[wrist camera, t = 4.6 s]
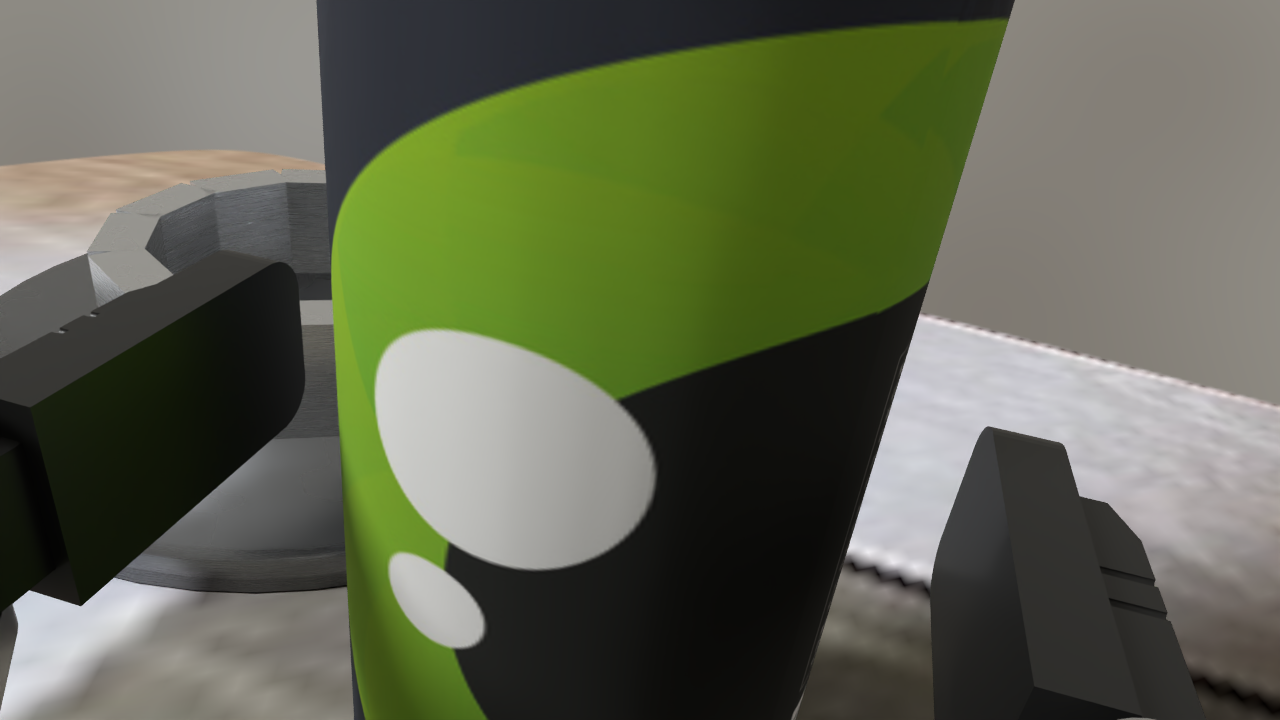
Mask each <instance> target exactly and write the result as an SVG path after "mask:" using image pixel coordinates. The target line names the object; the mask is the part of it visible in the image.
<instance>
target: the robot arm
mask: <svg viewBox="0 0 1280 720" xmlns="http://www.w3.org/2000/svg"><path fill="white" fill-rule="evenodd" d="M304 389H305V365H304V352H303V339H302V326H301V312H300V299H299V287H298V281H297V277H296V275H295V272H294V271H293V269H292V268H291V267H290V266H289V265H288V264H286V263H284V262H280V261H275V260H271V259H267V258H262V257H258V256H254V255H249V254H245V253H240V252H236V251H232V250H221V251H218V252H216V253H214V254H212V255H210V256H208V257H206V258H204V259H202V260H201V261H199V262H197V263H195V264H193V265H191V266H189V267H187V268H185V269H184V270H182V271H180V272H178V273H176V274H174V275H172V276H170V277H168V278H167V279H165V280H163V281H161V282H159V283H157V284H155V285H151V286H147V287H144V288H140V289H137V290H133V291H129V292H127V293H125V294H123V295H121V296H119V297H117V298H115V299H113V300H112V301H110V302H108V303H106V304H104V305H102V306H100V307H98V308H96V309H94V310H92V311H91V314H90V316H89V317H88V316H84V315H83V316H81V317H79V318H77V319H75V320H73V321H71V322H69V323H67V324H65V325H64V326H62V327H60V330H59V332H58V333H55V332H50V333H48V334H46V335H44V336H42V337H41V338H39V339H37V340H35V341H33V342H31V343H29V344H27V345H25V346H23V347H21V348H19V349H18V350H16V351H14V352H12V353H10V354H8V355H6V356H4V357H2V358H0V709H1V705H2V700H3V696H4V691H5V687H6V682H7V677H8V673H9V668H10V664H11V659H12V655H13V650H14V646H15V641H16V636H17V631H18V622H17V617H16V614H15V611H14V607H13V603H14V602H15V601H16V600H18V599H19V598H20V597H21V596H23V595H24V594H25V593H26V592H28V591H29V590H31V591H34V592H37V593H40V594H43V595H47V596H50V597H53V598H56V599H59V600H63V601H66V602H69V603H72V604H75V605H79V606H82V605H83V604H84V603H85V602H86V601H88V600H89V599H90V598H91V597H92V596H93V595H94V594H96V593H97V592H98V591H99V590H100V589H101V588H103V587H104V586H105V585H106V584H107V583H108V582H109V581H111V580H112V579H113V578H114V577H115V576H116V575H117V574H119V573H120V572H121V571H122V570H123V569H124V568H125V567H127V566H128V565H129V564H130V563H131V562H132V561H133V560H135V559H136V558H137V557H138V556H139V555H140V554H141V553H143V552H144V551H145V550H146V549H147V548H148V547H149V546H151V545H152V544H153V543H154V542H155V541H156V540H157V539H159V538H160V537H161V536H162V535H163V534H164V533H165V532H167V531H168V530H169V529H170V528H171V527H172V526H173V525H175V524H176V523H177V522H178V521H179V520H180V519H182V518H183V517H184V516H185V515H186V514H187V513H188V512H190V511H191V510H192V509H193V508H194V507H195V506H196V505H198V504H199V503H200V502H201V501H202V500H203V499H204V498H206V497H207V496H208V495H209V494H210V493H211V492H212V491H214V490H215V489H216V488H217V487H218V486H219V485H220V484H222V483H223V482H224V481H225V480H226V479H227V478H228V477H230V476H231V475H232V474H233V473H234V472H235V471H236V470H238V469H239V468H240V467H241V466H242V465H243V464H244V463H246V462H247V461H248V460H249V459H250V458H251V457H252V456H254V455H255V454H256V453H257V452H258V451H259V450H261V449H262V448H263V447H264V446H265V445H266V444H267V443H269V442H270V441H271V440H272V439H273V438H274V437H275V436H277V435H278V434H279V433H280V432H281V431H282V430H283V429H285V428H286V427H287V426H288V425H289V423H290V422H291V421H292V419H293V418H294V416H295V415H296V413H297V411H298V409H299V406H300V404H301V401H302V398H303V394H304ZM1154 582H1155V577H1154V575H1153V572H1152V569H1151V566H1150V564H1149V561H1148V558H1147V555H1146V553H1145V550H1144V547H1143V544H1142V542H1141V540H1140V539H1139V538H1138V537H1137V536H1136V535H1135V533H1134V532H1133V531H1132V530H1131V529H1130V528H1129V527H1128V526H1127V524H1126V523H1125V522H1124V521H1123V520H1122V519H1121V518H1120V517H1119V515H1118V514H1117V513H1116V512H1115V511H1114V510H1113V509H1112V508H1111V507H1110V505H1109V504H1108V503H1105V502H1101V501H1096V500H1092V499H1088V498H1084V497H1080V496H1079V494H1078V490H1077V487H1076V483H1075V480H1074V476H1073V473H1072V469H1071V466H1070V462H1069V459H1068V455H1067V452H1066V449H1065V447H1064V445H1063V444H1061V443H1059V442H1054V441H1050V440H1046V439H1041V438H1037V437H1033V436H1028V435H1024V434H1020V433H1015V432H1011V431H1007V430H1002V429H998V428H994V427H989V426H988V427H986V428H985V429H984V430H983V431H982V433H981V434H980V436H979V438H978V440H977V442H976V445H975V448H974V450H973V453H972V456H971V458H970V461H969V464H968V467H967V469H966V472H965V475H964V477H963V480H962V483H961V486H960V488H959V491H958V494H957V496H956V499H955V502H954V505H953V507H952V510H951V513H950V516H949V518H948V521H947V524H946V526H945V529H944V532H943V535H942V537H941V540H940V543H939V547H938V550H937V554H936V558H935V563H934V568H933V573H932V580H931V591H930V607H931V634H932V661H933V688H934V715H935V720H1206V718H1205V715H1204V712H1203V709H1202V707H1201V704H1200V701H1199V698H1198V696H1197V693H1196V690H1195V687H1194V685H1193V682H1192V679H1191V676H1190V674H1189V671H1188V668H1187V665H1186V663H1185V660H1184V657H1183V654H1182V652H1181V649H1180V646H1179V643H1178V641H1177V638H1176V635H1175V632H1174V630H1173V627H1172V624H1171V621H1167V620H1166V615H1167V610H1166V608H1165V605H1164V602H1163V599H1162V597H1161V594H1160V591H1159V588H1157V587H1154Z"/></svg>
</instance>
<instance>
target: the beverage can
mask: <svg viewBox="0 0 1280 720" xmlns="http://www.w3.org/2000/svg"><path fill="white" fill-rule="evenodd" d="M1014 1H1015V0H317V18H318V37H319V56H320V76H321V94H322V112H323V113H322V114H323V131H324V152H325V171H326V190H327V209H328V228H329V247H330V266H331V285H332V304H333V323H334V342H335V361H336V380H337V400H338V419H339V438H340V457H341V476H342V495H343V514H344V533H345V552H346V571H347V590H348V609H349V628H350V647H351V666H352V685H353V704H354V720H796V717H797V714H798V711H799V708H800V704H801V701H802V698H803V694H804V691H805V688H806V685H807V681H808V678H809V675H810V671H811V668H812V665H813V662H814V658H815V655H816V652H817V648H818V645H819V642H820V639H821V635H822V632H823V629H824V625H825V622H826V619H827V616H828V612H829V609H830V606H831V602H832V599H833V596H834V593H835V589H836V586H837V583H838V579H839V576H840V573H841V570H842V566H843V563H844V560H845V556H846V553H847V550H848V547H849V543H850V540H851V537H852V533H853V530H854V527H855V524H856V520H857V517H858V514H859V510H860V507H861V504H862V501H863V497H864V494H865V491H866V487H867V484H868V481H869V478H870V474H871V471H872V468H873V464H874V461H875V458H876V455H877V451H878V448H879V445H880V441H881V438H882V435H883V432H884V428H885V425H886V422H887V418H888V415H889V412H890V409H891V405H892V402H893V399H894V395H895V392H896V389H897V386H898V382H899V379H900V376H901V372H902V369H903V366H904V363H905V359H906V356H907V353H908V349H909V346H910V343H911V340H912V336H913V333H914V330H915V326H916V323H917V320H918V317H919V313H920V310H921V307H922V303H923V300H924V297H925V293H926V290H927V287H928V284H929V280H930V277H931V274H932V270H933V267H934V264H935V261H936V257H937V254H938V251H939V248H940V244H941V241H942V238H943V234H944V231H945V228H946V225H947V221H948V218H949V215H950V211H951V208H952V205H953V201H954V198H955V195H956V192H957V188H958V185H959V182H960V179H961V175H962V172H963V169H964V165H965V162H966V159H967V156H968V152H969V149H970V145H971V142H972V139H973V136H974V133H975V129H976V126H977V123H978V119H979V116H980V113H981V110H982V106H983V103H984V99H985V96H986V93H987V90H988V86H989V83H990V80H991V76H992V73H993V70H994V67H995V64H996V60H997V57H998V53H999V50H1000V47H1001V44H1002V41H1003V37H1004V34H1005V31H1006V27H1007V24H1008V21H1009V18H1010V14H1011V11H1012V8H1013V4H1014Z"/></svg>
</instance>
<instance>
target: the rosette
mask: <svg viewBox="0 0 1280 720" xmlns="http://www.w3.org/2000/svg"><path fill="white" fill-rule="evenodd" d="M116 211H117V213H111V214H110V215H109V217H108V218H107V220H106V222H105V223H104V225H103V226H102V228H101V230H100V231H99V233H98V235H97V236H96V238H95V239H94V241H93V243H92V244H91V246H90V247H89V249H88V251H87V254H84V255H82V256H79V257H77V258H74V259H72V260H69V261H67V262H64V263H62V264H59V265H57V266H54V267H52V268H50V269H48V270H46V271H44V272H42V273H40V274H38V275H36V276H34V277H32V278H30V279H28V280H26V281H24V282H22V283H21V284H19V285H17V286H16V287H14V288H12V289H11V290H9V291H8V292H6V293H4V294H3V295H1V296H0V358H2V357H4V356H6V355H8V354H10V353H12V352H14V351H16V350H18V349H19V348H21V347H23V346H25V345H27V344H29V343H31V342H33V341H35V340H37V339H39V338H41V337H42V336H44V335H46V334H48V333H50V332H55V333H58V332H59V330H60V327H62V326H64V325H65V324H67V323H69V322H71V321H73V320H75V319H77V318H79V317H81V316H83V315H84V316H88V317H89V316H90V314H91V311H92V310H94V309H96V308H98V307H100V306H102V305H104V304H106V303H108V302H110V301H112V300H113V299H115V298H117V297H119V296H121V295H123V294H125V293H127V292H129V291H133V290H137V289H140V288H144V287H147V286H151V285H155V284H157V283H159V282H161V281H163V280H165V279H167V278H168V277H170V276H172V275H174V274H176V273H178V272H180V271H182V270H184V269H185V268H187V267H189V266H191V265H193V264H195V263H197V262H199V261H201V260H202V259H204V258H206V257H208V256H210V255H212V254H214V253H216V252H218V251H221V250H232V251H236V252H240V253H245V254H249V255H254V256H258V257H262V258H267V259H271V260H275V261H280V262H284V263H286V264H288V265H289V266H290V267H291V268H292V269H293V271H294V272H295V275H296V277H297V281H298V287H299V299H300V312H301V326H302V339H303V352H304V365H305V389H304V394H303V398H302V401H301V404H300V406H299V409H298V411H297V413H296V415H295V416H294V418H293V419H292V421H291V422H290V423H289V425H288V426H287V427H286V428H285V429H283V430H282V431H281V432H280V433H279V434H278V435H277V436H275V437H274V438H273V439H272V440H271V441H270V442H269V443H267V444H266V445H265V446H264V447H263V448H262V449H261V450H259V451H258V452H257V453H256V454H255V455H254V456H252V457H251V458H250V459H249V460H248V461H247V462H246V463H244V464H243V465H242V466H241V467H240V468H239V469H238V470H236V471H235V472H234V473H233V474H232V475H231V476H230V477H228V478H227V479H226V480H225V481H224V482H223V483H222V484H220V485H219V486H218V487H217V488H216V489H215V490H214V491H212V492H211V493H210V494H209V495H208V496H207V497H206V498H204V499H203V500H202V501H201V502H200V503H199V504H198V505H196V506H195V507H194V508H193V509H192V510H191V511H190V512H188V513H187V514H186V515H185V516H184V517H183V518H182V519H180V520H179V521H178V522H177V523H176V524H175V525H173V526H172V527H171V528H170V529H169V530H168V531H167V532H165V533H164V534H163V535H162V536H161V537H160V538H159V539H157V540H156V541H155V542H154V543H153V544H152V545H151V546H149V547H148V548H147V549H146V550H145V551H144V552H143V553H141V554H140V555H139V556H138V557H137V558H136V559H135V560H133V561H132V562H131V563H130V564H129V565H128V566H127V567H125V568H124V569H123V570H122V571H121V572H120V573H119V574H117V575H116V576H115V577H116V578H120V579H125V580H129V581H133V582H137V583H145V584H152V585H160V586H167V587H175V588H182V589H189V590H205V591H231V592H271V591H291V590H311V589H320V588H328V587H335V586H342V585H347V571H346V552H345V533H344V514H343V495H342V476H341V457H340V438H339V419H338V400H337V380H336V361H335V342H334V323H333V304H332V285H331V266H330V247H329V228H328V209H327V190H326V171H325V170H297V169H282V173H281V174H279V173H278V172H276V171H274V170H266V171H259V172H252V173H244V174H237V175H230V176H223V177H216V178H208V179H201V180H194V181H190V185H187V184H183V183H180V184H178V185H176V186H173V187H171V188H168V189H166V190H163V191H161V192H158V193H156V194H153V195H151V196H148V197H146V198H143V199H141V200H138V201H136V202H133V203H131V204H128V205H126V206H123V207H121V208H118V209H116Z"/></svg>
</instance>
